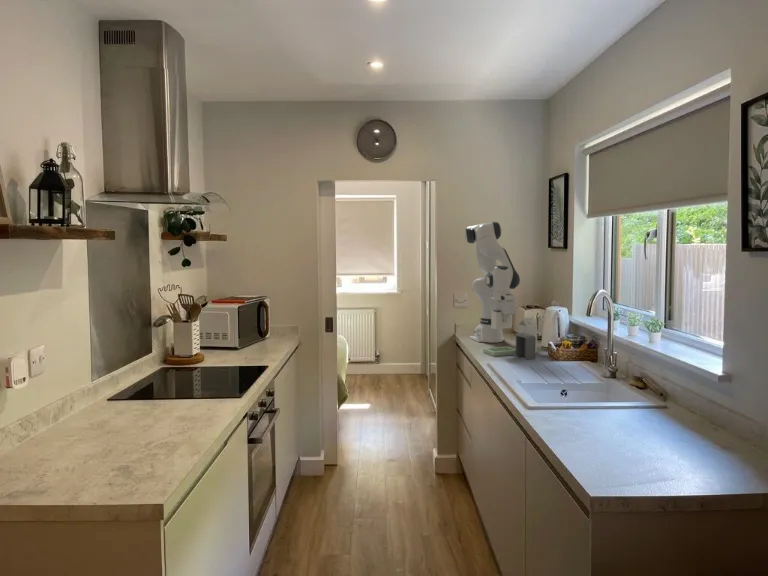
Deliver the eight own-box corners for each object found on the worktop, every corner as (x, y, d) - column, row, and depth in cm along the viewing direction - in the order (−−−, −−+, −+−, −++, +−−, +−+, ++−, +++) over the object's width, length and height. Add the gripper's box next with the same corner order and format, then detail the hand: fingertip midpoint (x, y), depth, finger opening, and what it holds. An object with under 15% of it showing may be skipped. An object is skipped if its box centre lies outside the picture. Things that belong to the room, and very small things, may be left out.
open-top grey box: (514, 355, 292) (515, 333, 291) (524, 354, 294) (524, 332, 293) (525, 359, 283) (525, 336, 282) (535, 358, 286) (535, 335, 285)
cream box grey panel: (491, 327, 298) (491, 310, 297) (506, 326, 302) (506, 308, 301) (496, 329, 293) (496, 311, 293) (512, 327, 297) (512, 309, 296)
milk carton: (518, 351, 303) (518, 317, 302) (528, 350, 306) (528, 316, 305) (526, 353, 297) (527, 319, 295) (536, 352, 300) (537, 318, 298)
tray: (483, 352, 301) (483, 348, 301) (507, 350, 307) (507, 346, 307) (494, 356, 291) (494, 352, 291) (519, 354, 297) (519, 349, 296)
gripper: (486, 294, 305) (486, 319, 306) (507, 297, 286) (507, 324, 287) (496, 294, 307) (495, 318, 308) (517, 297, 288) (517, 323, 289)
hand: (501, 321), depth 297 cm, fingers closed on cream box grey panel, 5 cm apart
